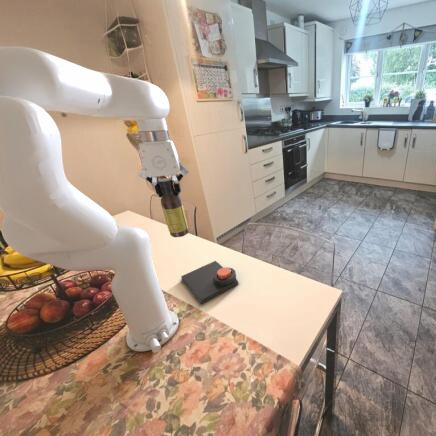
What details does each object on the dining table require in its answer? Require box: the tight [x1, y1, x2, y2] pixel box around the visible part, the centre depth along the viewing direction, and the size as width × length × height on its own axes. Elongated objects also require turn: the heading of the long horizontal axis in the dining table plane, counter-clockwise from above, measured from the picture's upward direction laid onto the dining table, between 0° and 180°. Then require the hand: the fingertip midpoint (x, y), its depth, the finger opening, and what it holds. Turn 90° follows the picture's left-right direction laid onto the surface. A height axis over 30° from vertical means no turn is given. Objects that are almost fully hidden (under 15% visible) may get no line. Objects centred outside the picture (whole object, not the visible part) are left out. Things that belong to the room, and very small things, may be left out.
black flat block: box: [180, 260, 239, 305], centre depth 83 cm, size 16×14×4 cm
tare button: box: [217, 267, 231, 279], centre depth 82 cm, size 4×4×2 cm
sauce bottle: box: [159, 177, 190, 238], centre depth 82 cm, size 6×6×20 cm
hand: (169, 194), depth 80 cm, fingers closed on sauce bottle, 4 cm apart
